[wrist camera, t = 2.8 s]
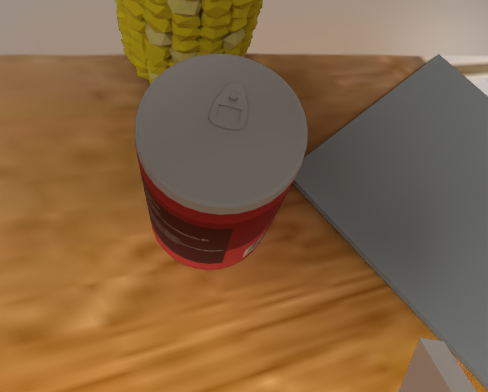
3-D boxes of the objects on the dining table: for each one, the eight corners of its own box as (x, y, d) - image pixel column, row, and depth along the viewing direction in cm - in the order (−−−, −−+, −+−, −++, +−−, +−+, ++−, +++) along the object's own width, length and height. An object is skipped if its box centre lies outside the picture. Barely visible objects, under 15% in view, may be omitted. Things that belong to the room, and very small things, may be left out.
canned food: (260, 160, 31) (298, 53, 21) (271, 271, 28) (322, 207, 18) (151, 161, 30) (135, 47, 20) (149, 276, 27) (130, 211, 17)
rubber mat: (284, 175, 31) (286, 171, 30) (434, 59, 37) (438, 54, 36) (507, 411, 26) (514, 411, 26) (635, 233, 33) (643, 230, 32)
